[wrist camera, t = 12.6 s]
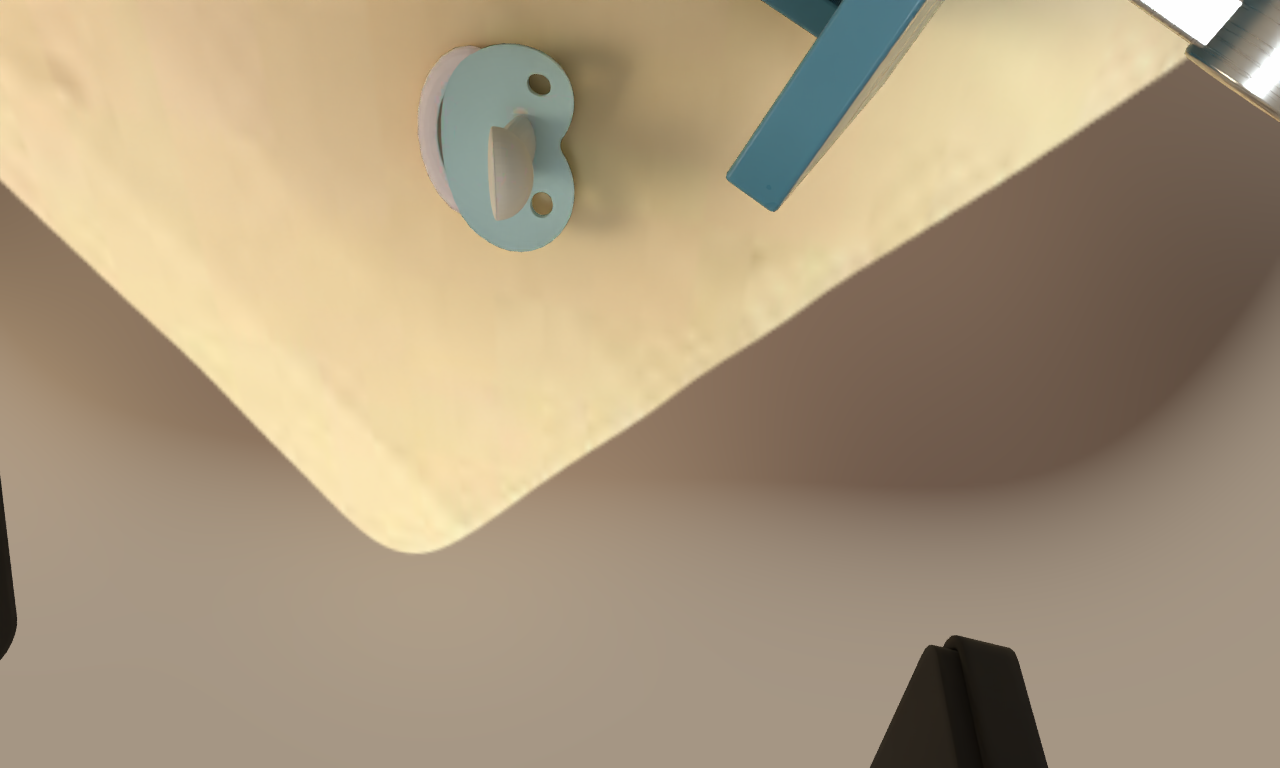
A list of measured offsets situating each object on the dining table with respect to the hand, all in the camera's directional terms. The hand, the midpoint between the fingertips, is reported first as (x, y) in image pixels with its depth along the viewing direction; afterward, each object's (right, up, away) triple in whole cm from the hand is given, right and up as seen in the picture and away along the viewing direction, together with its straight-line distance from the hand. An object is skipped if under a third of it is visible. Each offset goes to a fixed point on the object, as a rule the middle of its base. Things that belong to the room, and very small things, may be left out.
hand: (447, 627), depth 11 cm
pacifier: (-3, +12, +29) cm, 31 cm away
